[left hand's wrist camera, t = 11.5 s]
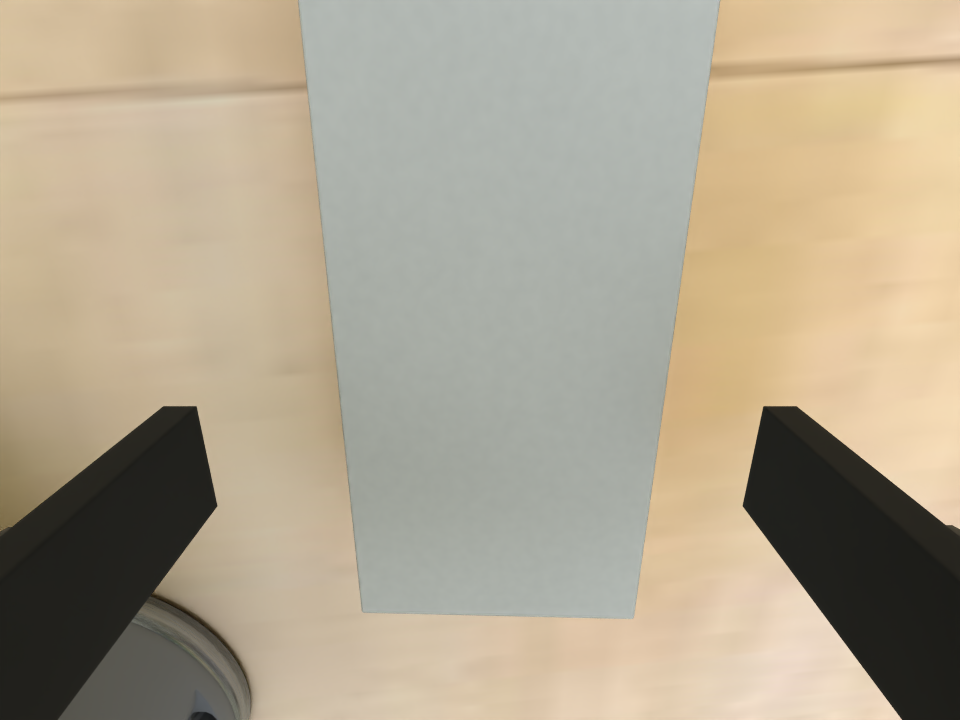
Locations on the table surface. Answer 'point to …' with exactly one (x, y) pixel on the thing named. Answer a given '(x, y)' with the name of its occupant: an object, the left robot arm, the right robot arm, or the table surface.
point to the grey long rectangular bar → (504, 285)
